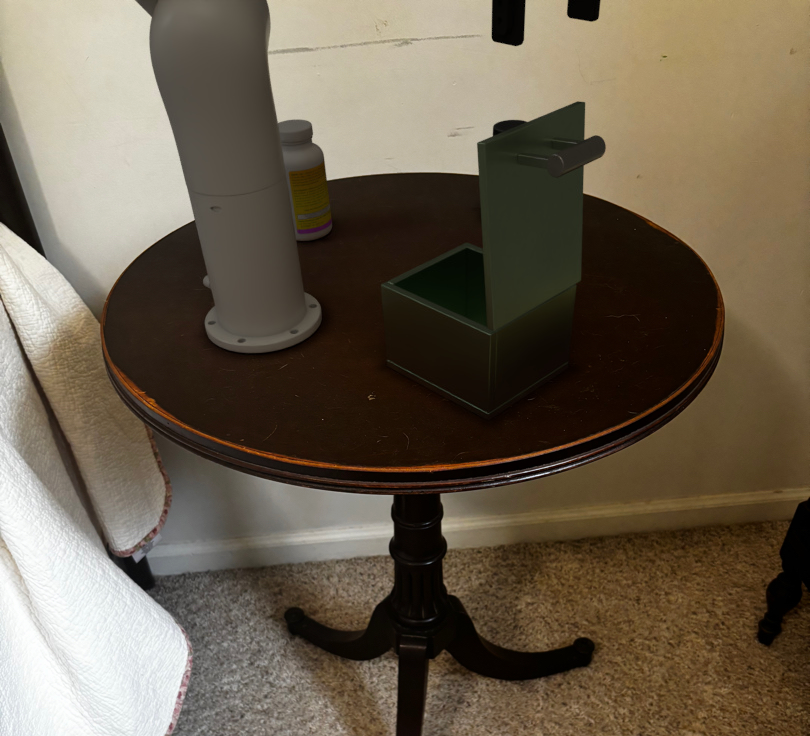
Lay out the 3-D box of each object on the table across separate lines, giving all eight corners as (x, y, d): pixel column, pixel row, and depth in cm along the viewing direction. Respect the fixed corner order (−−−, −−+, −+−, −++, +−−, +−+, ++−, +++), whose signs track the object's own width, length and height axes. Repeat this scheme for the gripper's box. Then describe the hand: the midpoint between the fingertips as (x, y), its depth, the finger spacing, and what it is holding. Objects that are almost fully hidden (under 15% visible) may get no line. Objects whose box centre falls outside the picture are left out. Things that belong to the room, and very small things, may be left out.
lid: (476, 142, 57) (533, 150, 54) (577, 100, 62) (634, 106, 59) (487, 328, 66) (535, 345, 63) (574, 278, 72) (623, 291, 69)
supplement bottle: (343, 226, 104) (331, 120, 95) (312, 247, 100) (297, 138, 91) (302, 217, 107) (287, 113, 98) (271, 236, 103) (252, 130, 94)
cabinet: (386, 366, 80) (380, 284, 74) (466, 321, 85) (466, 241, 79) (488, 421, 73) (490, 334, 66) (568, 368, 78) (577, 284, 72)
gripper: (597, -249, 63) (577, 5, 75) (438, -234, 56) (444, 46, 68) (677, -254, 59) (642, 16, 71) (518, -239, 52) (509, 61, 64)
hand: (546, 30), depth 69 cm, fingers open, 9 cm apart
